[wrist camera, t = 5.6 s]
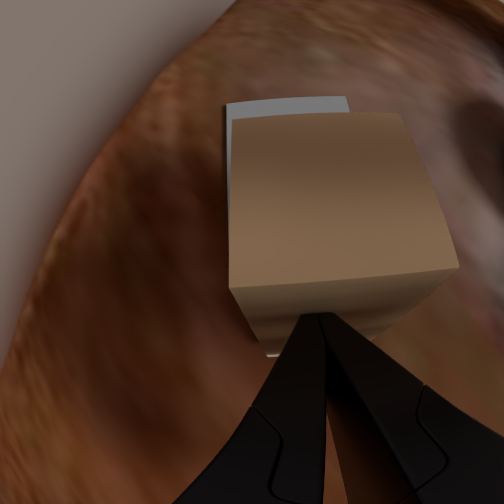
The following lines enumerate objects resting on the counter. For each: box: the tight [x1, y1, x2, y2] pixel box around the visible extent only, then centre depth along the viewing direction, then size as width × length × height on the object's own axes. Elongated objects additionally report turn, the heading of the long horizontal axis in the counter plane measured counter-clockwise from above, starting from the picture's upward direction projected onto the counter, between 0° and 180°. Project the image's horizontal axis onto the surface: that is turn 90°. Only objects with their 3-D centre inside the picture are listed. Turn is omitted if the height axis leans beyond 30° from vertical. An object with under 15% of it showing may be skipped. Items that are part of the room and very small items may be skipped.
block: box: [229, 112, 460, 357], centre depth 11 cm, size 4×4×10 cm
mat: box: [227, 96, 350, 234], centre depth 17 cm, size 11×8×1 cm
